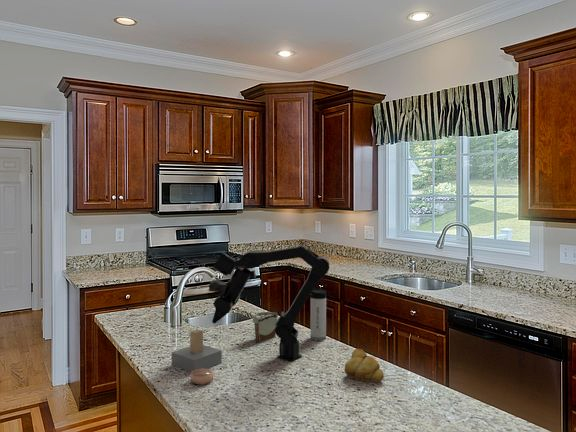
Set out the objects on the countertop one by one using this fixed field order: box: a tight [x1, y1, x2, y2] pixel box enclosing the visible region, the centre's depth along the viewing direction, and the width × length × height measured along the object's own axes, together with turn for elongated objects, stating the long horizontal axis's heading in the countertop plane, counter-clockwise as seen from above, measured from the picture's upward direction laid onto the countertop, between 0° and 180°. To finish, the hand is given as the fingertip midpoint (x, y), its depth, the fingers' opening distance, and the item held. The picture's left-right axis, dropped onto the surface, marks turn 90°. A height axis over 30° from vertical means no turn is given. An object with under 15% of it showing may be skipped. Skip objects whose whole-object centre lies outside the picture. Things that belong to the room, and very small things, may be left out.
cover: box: [171, 329, 223, 373], centre depth 162 cm, size 12×12×11 cm
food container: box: [252, 311, 279, 344], centre depth 190 cm, size 12×6×10 cm, turn 141°
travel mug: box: [310, 287, 327, 341], centre depth 190 cm, size 6×7×20 cm
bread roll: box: [344, 348, 385, 383], centre depth 149 cm, size 13×10×8 cm
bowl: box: [190, 368, 214, 385], centre depth 147 cm, size 7×7×3 cm
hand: (216, 319), depth 170 cm, fingers open, 9 cm apart
